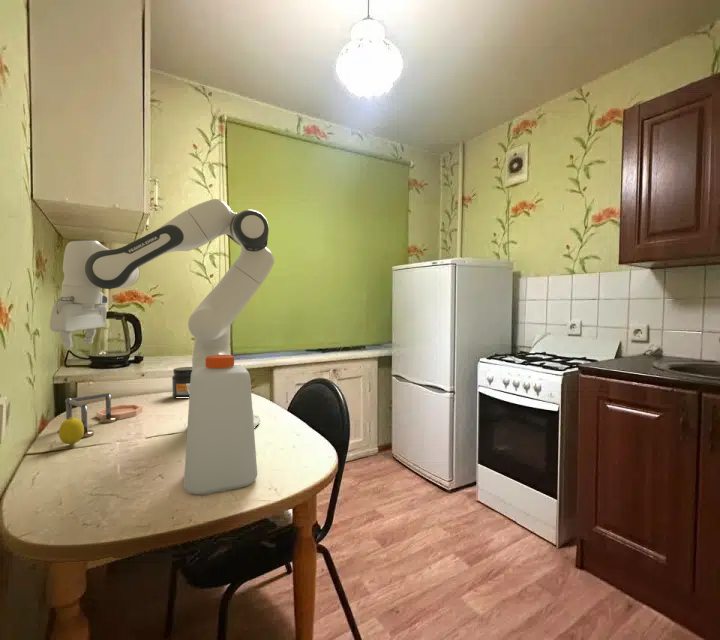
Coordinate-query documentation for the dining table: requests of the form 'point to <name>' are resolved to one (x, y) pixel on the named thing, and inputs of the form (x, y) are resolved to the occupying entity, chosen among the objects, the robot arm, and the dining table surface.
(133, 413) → the terracotta dish
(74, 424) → the lemon
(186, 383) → the supplement container
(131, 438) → the dining table surface
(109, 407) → the metal pipe stand
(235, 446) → the plastic bottle
